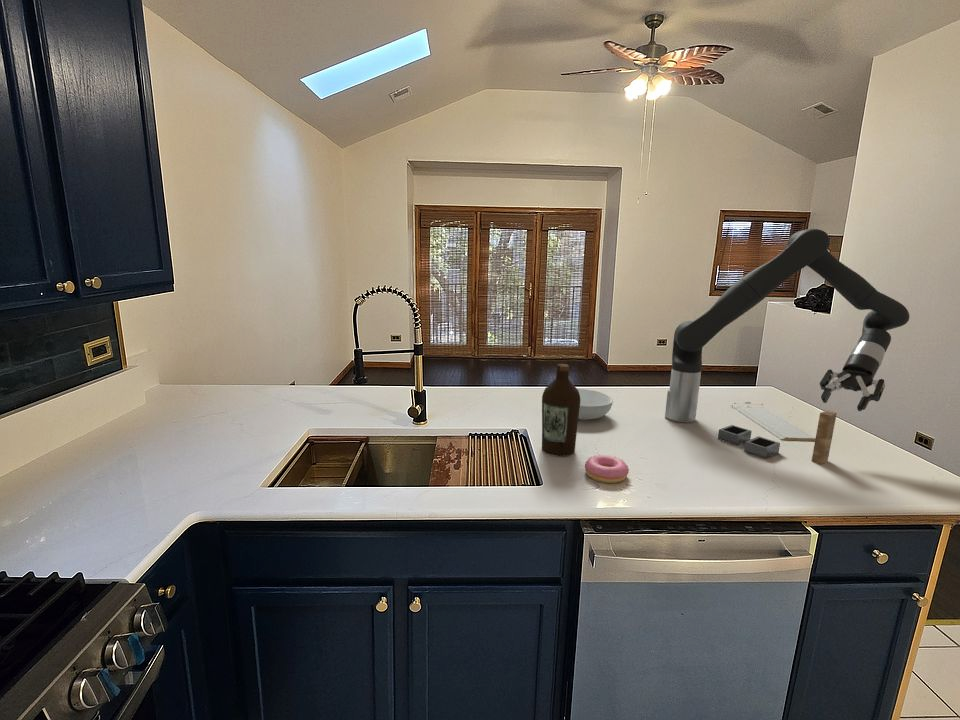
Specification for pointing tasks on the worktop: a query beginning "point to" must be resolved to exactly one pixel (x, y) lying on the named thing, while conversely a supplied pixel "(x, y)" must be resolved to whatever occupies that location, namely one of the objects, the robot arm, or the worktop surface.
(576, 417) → the olive oil
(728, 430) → the endcap
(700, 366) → the robot arm
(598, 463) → the doughnut
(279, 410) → the worktop surface
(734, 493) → the worktop surface
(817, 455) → the slat
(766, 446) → the endcap
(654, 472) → the worktop surface
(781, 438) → the baseboard
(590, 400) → the serving bowl
